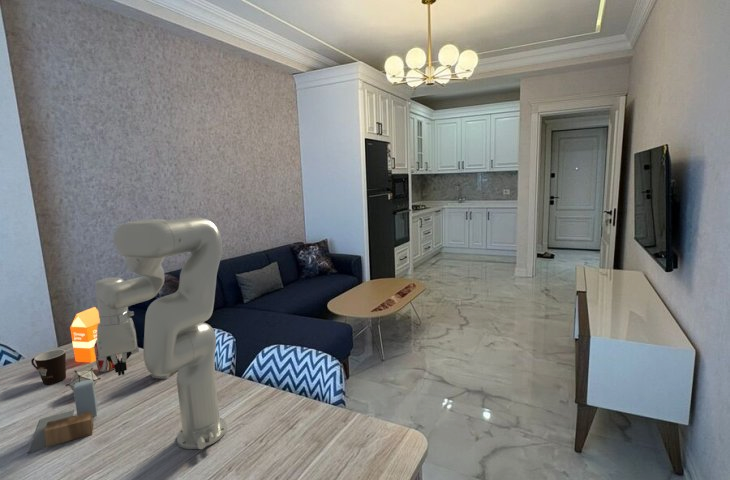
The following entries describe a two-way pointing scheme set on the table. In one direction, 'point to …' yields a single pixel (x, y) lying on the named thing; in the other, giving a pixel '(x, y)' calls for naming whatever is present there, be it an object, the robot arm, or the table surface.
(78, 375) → the game die
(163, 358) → the robot arm
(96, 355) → the soda can
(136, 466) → the table surface
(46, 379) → the coffee mug
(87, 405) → the slate block
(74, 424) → the walnut block
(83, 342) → the orange juice
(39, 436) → the felt mat
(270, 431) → the table surface
